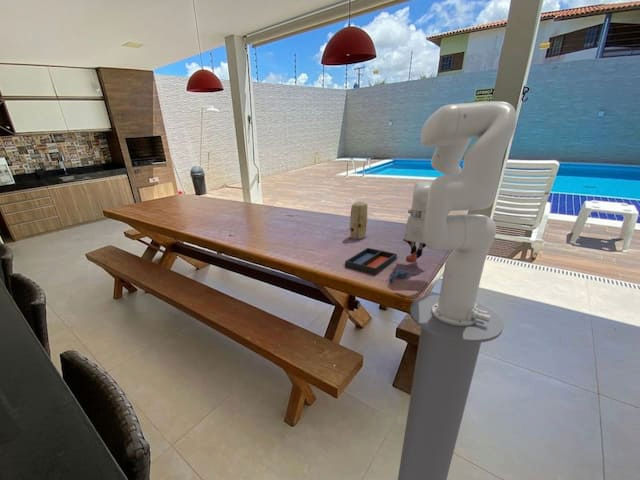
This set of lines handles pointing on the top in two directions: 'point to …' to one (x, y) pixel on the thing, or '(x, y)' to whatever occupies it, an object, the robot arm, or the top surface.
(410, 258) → the terracotta spoon
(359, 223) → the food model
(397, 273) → the blue spoon
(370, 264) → the sorting tray
